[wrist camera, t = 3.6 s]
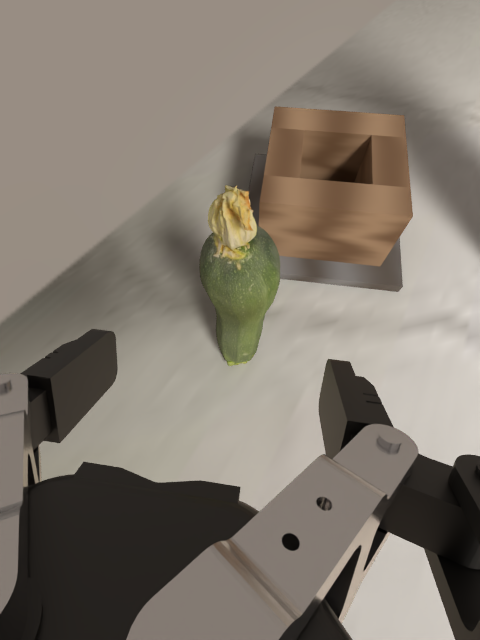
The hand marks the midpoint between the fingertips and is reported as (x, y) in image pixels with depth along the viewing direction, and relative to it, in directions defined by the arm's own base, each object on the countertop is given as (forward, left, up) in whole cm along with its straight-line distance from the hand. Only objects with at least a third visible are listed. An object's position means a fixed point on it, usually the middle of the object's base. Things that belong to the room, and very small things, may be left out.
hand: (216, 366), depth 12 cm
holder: (-6, -22, -17) cm, 28 cm away
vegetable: (0, -6, -17) cm, 18 cm away
